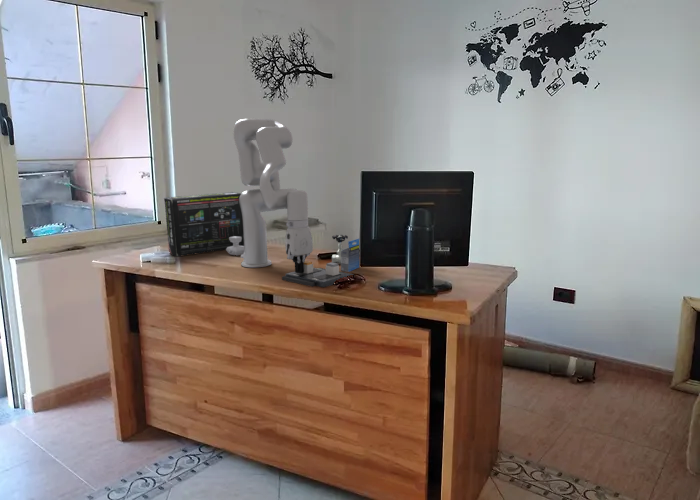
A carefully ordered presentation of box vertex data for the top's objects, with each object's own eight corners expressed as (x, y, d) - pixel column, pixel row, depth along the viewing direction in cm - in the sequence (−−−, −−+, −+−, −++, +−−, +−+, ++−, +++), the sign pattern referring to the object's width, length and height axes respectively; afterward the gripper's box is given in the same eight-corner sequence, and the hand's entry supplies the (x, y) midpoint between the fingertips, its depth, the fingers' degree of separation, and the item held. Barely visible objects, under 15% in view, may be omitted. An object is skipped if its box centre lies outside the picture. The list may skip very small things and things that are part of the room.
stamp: (234, 257, 252) (233, 238, 250) (224, 255, 256) (223, 237, 254) (248, 253, 259) (247, 236, 258) (238, 252, 263) (237, 234, 261)
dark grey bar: (282, 279, 210) (282, 276, 210) (284, 279, 211) (284, 275, 211) (312, 286, 200) (312, 283, 199) (315, 285, 201) (314, 282, 200)
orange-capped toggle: (300, 272, 212) (299, 261, 212) (305, 270, 215) (305, 260, 214) (307, 273, 210) (307, 263, 209) (313, 272, 212) (312, 261, 211)
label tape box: (351, 266, 230) (351, 237, 228) (360, 267, 228) (360, 238, 226) (340, 271, 223) (339, 240, 220) (349, 272, 220) (348, 241, 218)
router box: (236, 244, 284) (233, 191, 279) (246, 247, 275) (243, 193, 270) (166, 253, 263) (162, 196, 258) (175, 257, 254) (170, 198, 249)
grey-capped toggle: (325, 274, 209) (325, 263, 208) (331, 272, 211) (331, 262, 210) (333, 275, 206) (333, 265, 205) (339, 274, 208) (339, 263, 207)
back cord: (317, 271, 223) (317, 268, 222) (320, 270, 224) (320, 267, 223) (351, 278, 211) (351, 275, 211) (354, 277, 212) (354, 274, 212)
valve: (346, 266, 232) (346, 237, 229) (331, 265, 233) (330, 237, 231) (349, 262, 238) (349, 234, 236) (334, 262, 239) (334, 234, 237)
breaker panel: (285, 278, 211) (285, 273, 211) (311, 272, 221) (311, 266, 221) (323, 287, 198) (323, 281, 198) (349, 279, 208) (349, 274, 208)
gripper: (289, 227, 198) (291, 278, 201) (319, 222, 209) (320, 270, 212) (275, 225, 203) (277, 274, 206) (305, 221, 214) (306, 267, 217)
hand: (299, 272), depth 209 cm, fingers closed
